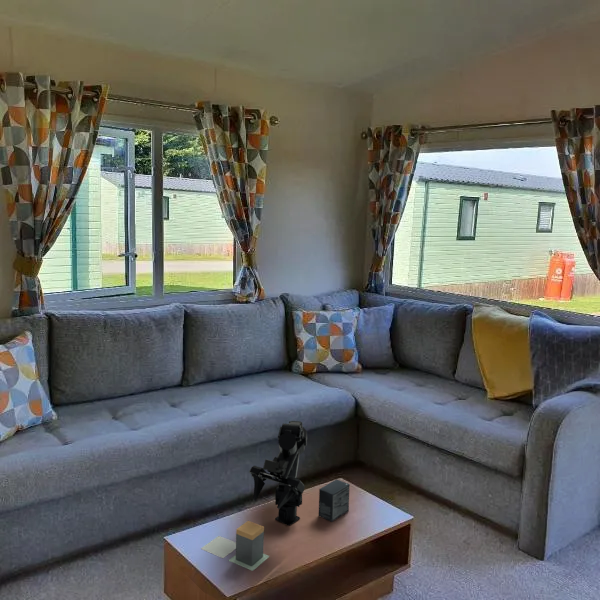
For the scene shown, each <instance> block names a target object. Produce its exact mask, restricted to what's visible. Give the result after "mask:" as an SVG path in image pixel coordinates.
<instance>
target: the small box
mask: <svg viewBox="0 0 600 600" xmlns="http://www.w3.org/2000/svg"><path fill="white" fill-rule="evenodd" d="M318 490H319V492H318V493H319V494H318V495H319V497H318V517H320V518H322V519H325V520H326V521H328V522H331V523H333V522H334V521H336V520H337V519H339V518H341V517H342V516H344V515H345V514H347V513H348V512H349V511H350V507H349V505H350V483H348V482H344V481H342V480H340V479H335V480H332V481H331V482H329V483H328V484H326V485H324V486H322V487H321V488H319V489H318Z"/></svg>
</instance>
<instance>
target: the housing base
mask: <svg viewBox="0 0 600 600" xmlns="http://www.w3.org/2000/svg"><path fill="white" fill-rule="evenodd" d="M264 538H265V531H264V532H262V533H261V534H260V535H258V536H257V537H256V538H255V539H253V540H251V539H248V538H246V537H243V536H240V535H238V534H236V533H235V542H236V549H235V555H236V560H237V561H240V562H242V563H244V564H247V565H249V566H253V565H254V564H255V563H256V562H258V561H259V560H260V559H261V558H262V557H263V554H264Z"/></svg>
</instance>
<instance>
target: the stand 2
mask: <svg viewBox="0 0 600 600" xmlns="http://www.w3.org/2000/svg"><path fill="white" fill-rule="evenodd" d="M268 558H270V555H268V554H266V553H263V557H262V558H261V559H260V560H259V561H258V562H256V563H255V564H254V565H253V566H249V565H247V564H244V563H242V562H240V561H237V560H236V554H234V556H232V557H231V558H229V560H228V561H229V562H231V563H233V564H236V565H238V566H239V567H242V568H245V569H248V570H250V571H252V572H253V571H254V570H255V569H257V568H258V567H259V566H260V565H261V564H263V563H264V562H265V561H267V559H268Z"/></svg>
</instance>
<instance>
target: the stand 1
mask: <svg viewBox="0 0 600 600" xmlns="http://www.w3.org/2000/svg"><path fill="white" fill-rule="evenodd" d="M200 550H203V551H204V552H208V553H210V554H211V555H214V556H217V557H219V558H220V559H225V558H226V557H227V556H228V555H230V554H232V552H234V551H236V541H233V540H231V539H228V538H226V537H223V536H221V535H218V536H216V537H215V538H213V539H212V540H211V541H209V542H208V543H207V544H205V545H204V546H202V547H200Z"/></svg>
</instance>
